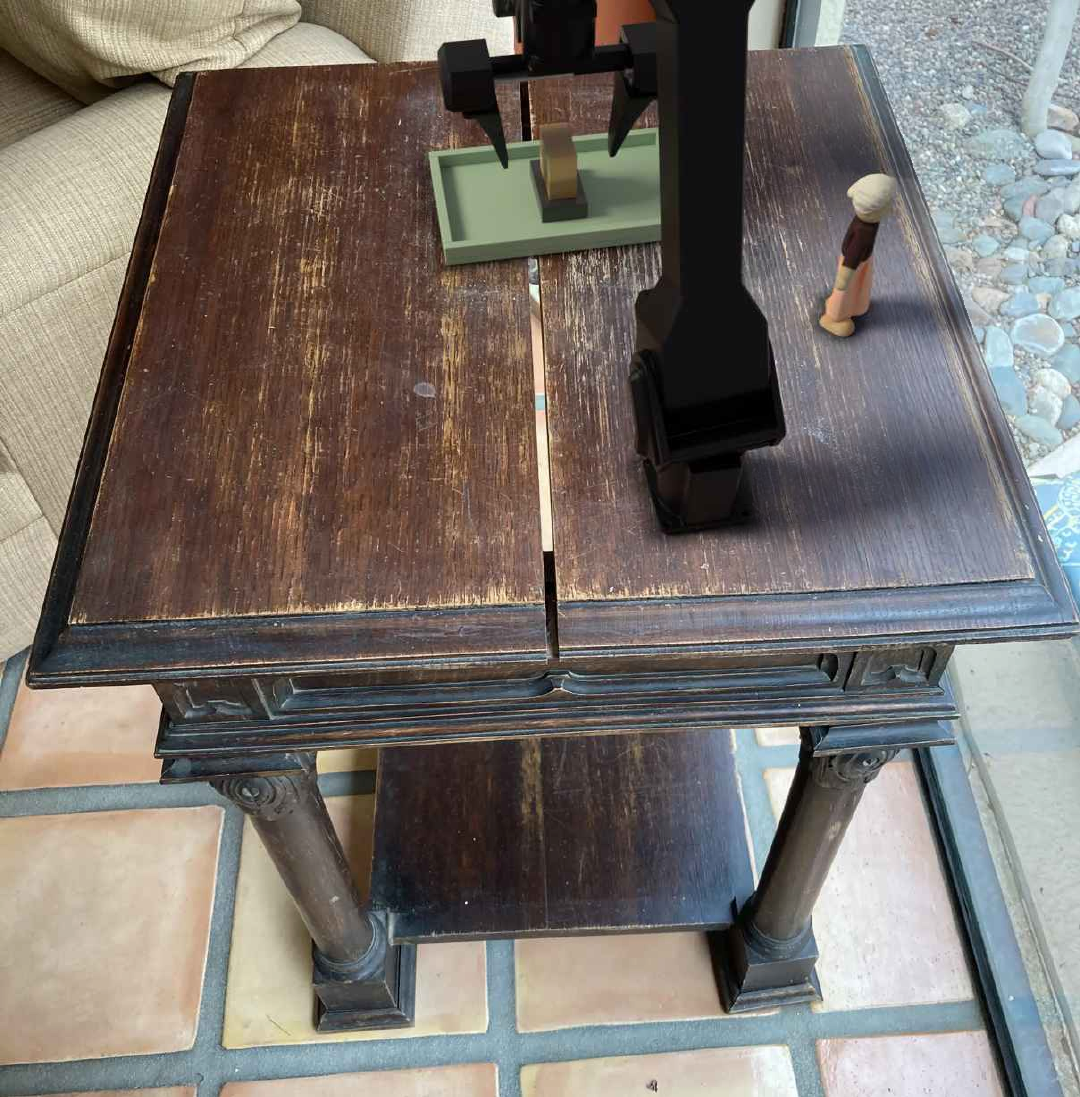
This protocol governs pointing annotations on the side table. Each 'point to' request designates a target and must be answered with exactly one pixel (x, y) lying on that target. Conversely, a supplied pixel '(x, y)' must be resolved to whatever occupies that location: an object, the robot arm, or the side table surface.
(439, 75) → the robot arm
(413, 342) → the side table surface
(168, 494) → the side table surface
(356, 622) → the side table surface
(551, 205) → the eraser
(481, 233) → the tray
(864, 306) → the grandmother figurine
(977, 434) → the side table surface
